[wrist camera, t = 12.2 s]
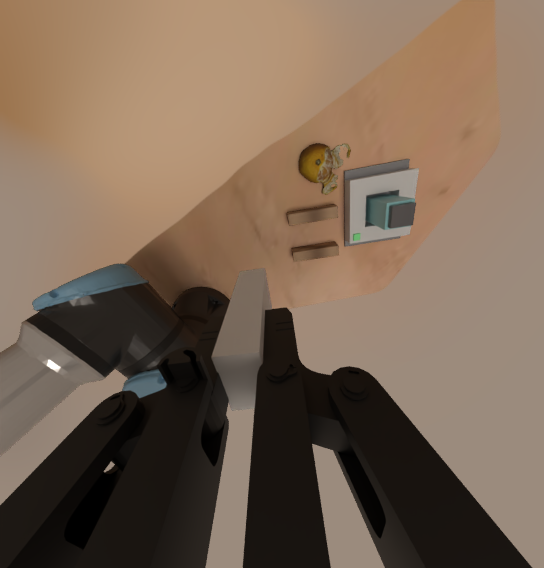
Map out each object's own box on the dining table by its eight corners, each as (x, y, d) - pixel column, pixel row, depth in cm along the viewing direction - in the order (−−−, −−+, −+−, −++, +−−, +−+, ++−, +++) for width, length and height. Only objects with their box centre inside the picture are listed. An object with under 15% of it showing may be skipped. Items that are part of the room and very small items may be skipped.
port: (344, 245, 43) (350, 251, 40) (343, 171, 37) (351, 170, 34) (398, 237, 42) (409, 242, 39) (407, 159, 36) (421, 157, 33)
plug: (363, 219, 40) (387, 231, 32) (363, 197, 39) (390, 204, 30) (384, 215, 40) (415, 227, 31) (385, 193, 38) (419, 199, 29)
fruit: (333, 196, 39) (339, 198, 36) (291, 184, 38) (293, 184, 35) (352, 146, 36) (360, 143, 32) (306, 131, 35) (310, 126, 31)
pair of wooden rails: (292, 257, 45) (294, 262, 42) (287, 212, 40) (287, 214, 38) (334, 250, 44) (338, 255, 41) (333, 204, 40) (337, 206, 37)
